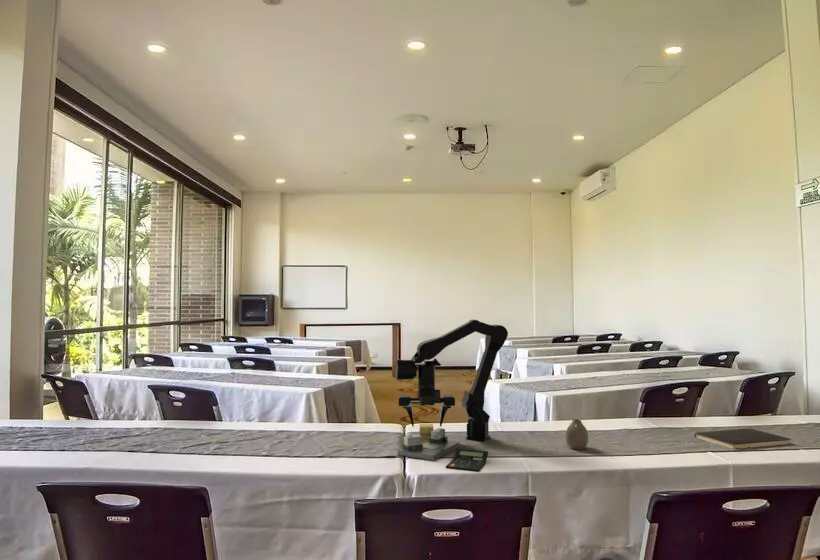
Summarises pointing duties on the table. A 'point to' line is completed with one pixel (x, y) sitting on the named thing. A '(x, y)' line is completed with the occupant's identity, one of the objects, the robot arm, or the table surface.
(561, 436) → the table surface
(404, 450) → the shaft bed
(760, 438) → the hardcover book
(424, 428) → the tan cube
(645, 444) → the table surface
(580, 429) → the vase
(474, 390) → the robot arm
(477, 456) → the calculator
